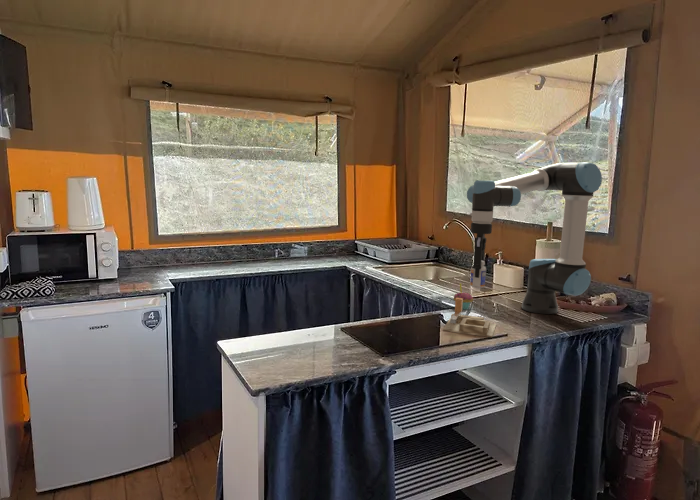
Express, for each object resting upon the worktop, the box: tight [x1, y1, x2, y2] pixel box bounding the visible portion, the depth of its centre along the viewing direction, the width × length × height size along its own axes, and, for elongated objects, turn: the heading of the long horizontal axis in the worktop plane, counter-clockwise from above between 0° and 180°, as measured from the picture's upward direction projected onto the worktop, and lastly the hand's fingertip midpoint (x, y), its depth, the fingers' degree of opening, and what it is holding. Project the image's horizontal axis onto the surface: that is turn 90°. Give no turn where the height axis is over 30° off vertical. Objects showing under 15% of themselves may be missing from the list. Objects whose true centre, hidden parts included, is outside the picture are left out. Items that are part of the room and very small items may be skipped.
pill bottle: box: [469, 260, 487, 289], centre depth 180 cm, size 5×5×10 cm
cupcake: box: [453, 282, 474, 311], centre depth 214 cm, size 9×8×12 cm
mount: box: [442, 313, 497, 338], centre depth 186 cm, size 18×16×3 cm
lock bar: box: [449, 298, 463, 324], centre depth 187 cm, size 2×14×6 cm, turn 159°
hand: (477, 284), depth 181 cm, fingers closed on pill bottle, 5 cm apart
